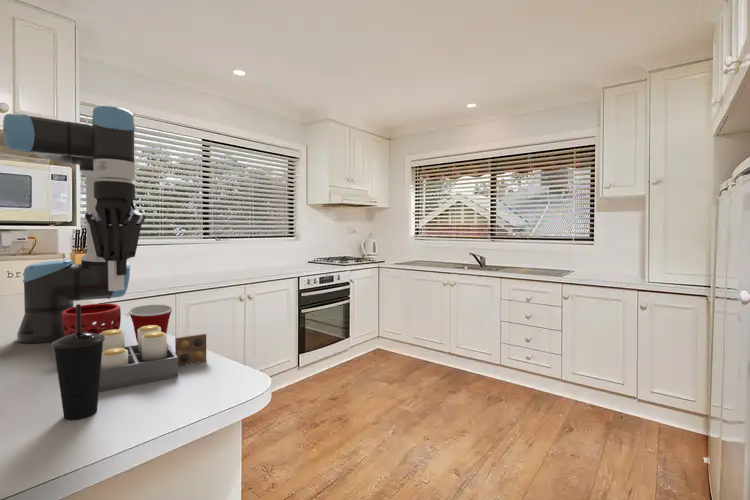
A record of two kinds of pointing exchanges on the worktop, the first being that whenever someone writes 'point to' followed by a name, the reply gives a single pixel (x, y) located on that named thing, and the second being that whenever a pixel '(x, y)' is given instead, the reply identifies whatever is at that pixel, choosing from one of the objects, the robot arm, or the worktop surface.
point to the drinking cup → (79, 370)
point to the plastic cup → (150, 316)
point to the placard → (190, 349)
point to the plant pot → (92, 318)
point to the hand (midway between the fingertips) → (116, 290)
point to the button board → (139, 370)
